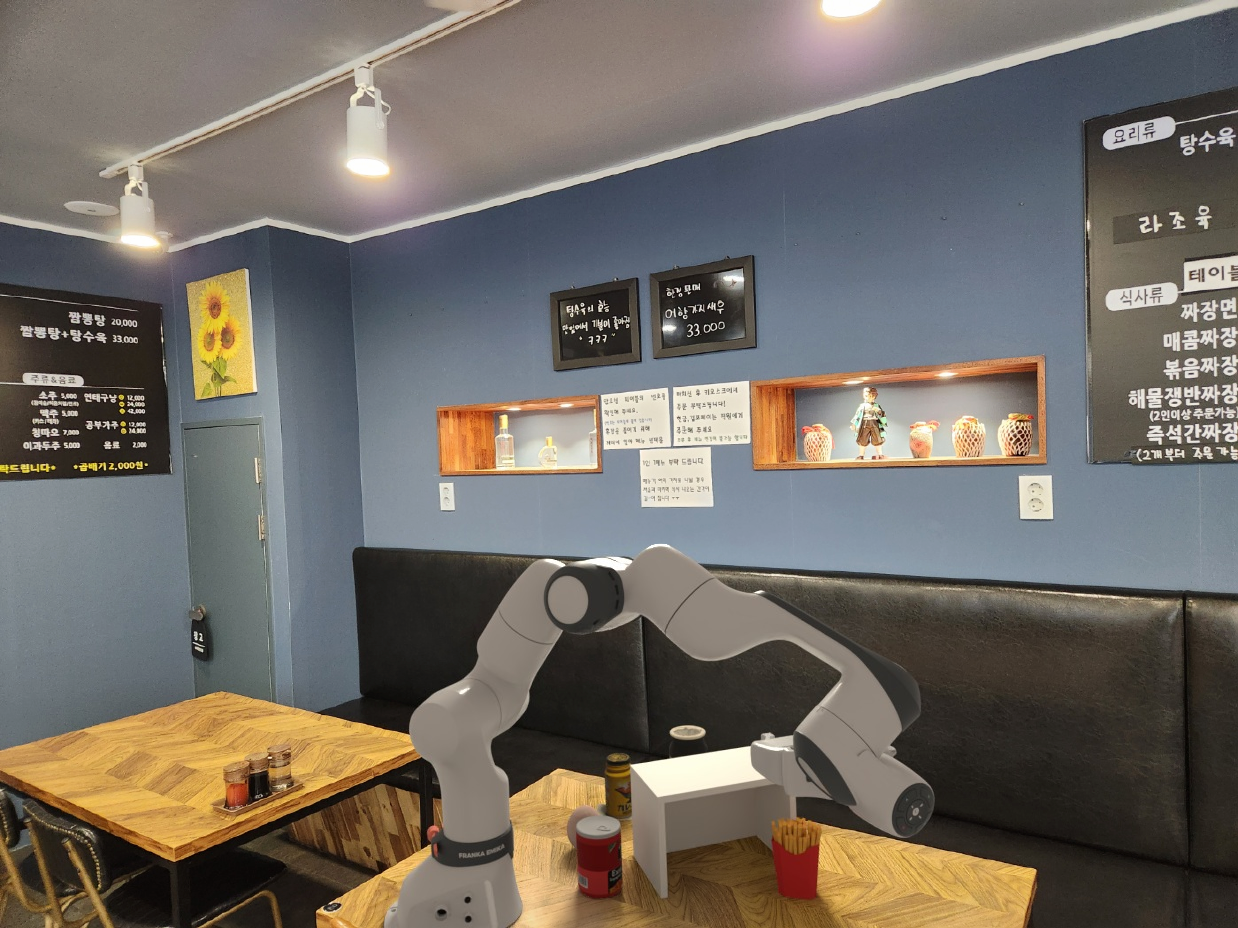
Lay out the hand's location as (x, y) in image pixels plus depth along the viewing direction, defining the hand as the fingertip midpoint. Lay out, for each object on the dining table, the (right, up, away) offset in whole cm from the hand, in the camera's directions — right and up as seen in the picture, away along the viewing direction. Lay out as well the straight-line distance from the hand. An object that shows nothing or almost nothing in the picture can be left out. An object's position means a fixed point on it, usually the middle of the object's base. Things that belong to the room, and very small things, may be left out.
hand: (791, 733), depth 120 cm
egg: (-34, -32, +26) cm, 53 cm away
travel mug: (-13, -31, +37) cm, 50 cm away
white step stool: (-10, -31, +18) cm, 37 cm away
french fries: (+3, -30, +8) cm, 31 cm away
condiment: (-28, -32, +41) cm, 59 cm away
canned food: (-31, -31, +12) cm, 46 cm away
